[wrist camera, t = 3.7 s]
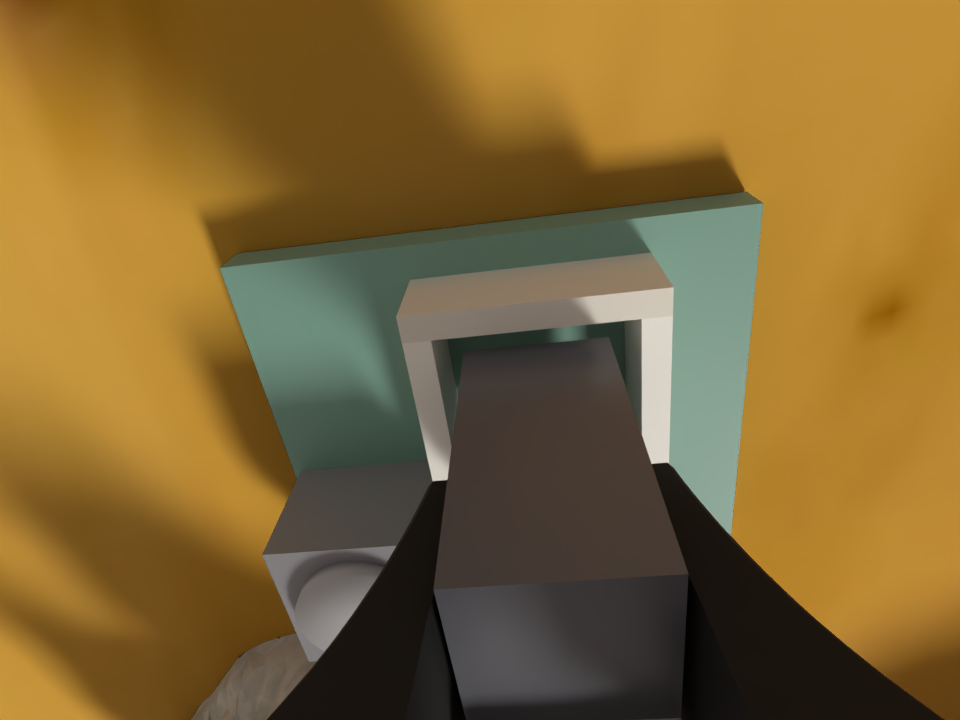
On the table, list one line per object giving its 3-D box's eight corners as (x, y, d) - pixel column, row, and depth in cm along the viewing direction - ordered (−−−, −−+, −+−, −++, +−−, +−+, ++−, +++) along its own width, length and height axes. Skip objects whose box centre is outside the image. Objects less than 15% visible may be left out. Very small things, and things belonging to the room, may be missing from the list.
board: (746, 191, 13) (844, 258, 9) (719, 520, 18) (776, 653, 14) (236, 253, 14) (139, 335, 11) (338, 546, 19) (297, 675, 15)
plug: (608, 336, 12) (703, 619, 6) (613, 486, 14) (689, 807, 8) (463, 351, 12) (428, 633, 7) (487, 496, 14) (476, 811, 9)
